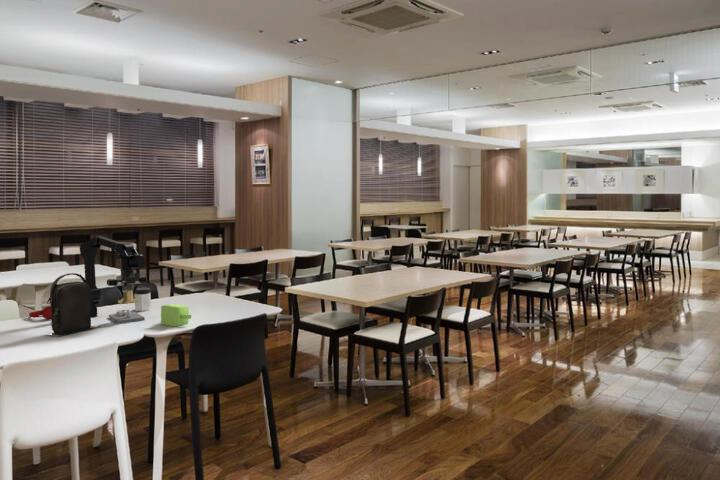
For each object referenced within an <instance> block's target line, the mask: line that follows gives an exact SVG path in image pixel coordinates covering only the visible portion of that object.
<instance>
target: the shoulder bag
mask: <svg viewBox="0 0 720 480" xmlns="http://www.w3.org/2000/svg"><path fill="white" fill-rule="evenodd" d="M72 275H73V276H76V277H78V278H79V279H81V281H71V282H64V283H59V284H58V282H59V281H60V280H61V279H63V278H64V277H66V276H72ZM46 304H47V305H49V306H51V320H50V321H51V330H52V332H51V333H52V336H51V337H54V338H57V337H61V336H67V335H70V334H71V335H72V334H77V333H81V332H85V331H90V330H95V329H100V328H101V327H100V326H94V325H92V319H91V318H92V317H91V313H94V301H93V300H92V298H91V289H90V286H89V285H88V284H87V283H86V280H85V277H83V275H82V274H79V273H76V272H75V273H74V272H73V273H72V272H70V273H65V274H62V275H59V276H58V277H56V279H54V281H53V282H52V283H51V287H50V293H49V297H48V299H47V302H46ZM48 336H49V337H50V335H48Z"/></svg>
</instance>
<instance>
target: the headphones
mask: <svg viewBox="0 0 720 480" xmlns="http://www.w3.org/2000/svg"><path fill="white" fill-rule="evenodd" d="M28 315H29V318H30V319H34V318H44V319H45V320H47V319H51V305H48V306H46V307H44V308H43V309H42V310H35V311H31V312H29V313H28ZM31 317H33V318H31Z"/></svg>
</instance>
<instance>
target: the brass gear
mask: <svg viewBox="0 0 720 480" xmlns="http://www.w3.org/2000/svg"><path fill="white" fill-rule="evenodd" d="M135 302H138V299H135V298H134V297H133V290H132V289H125V290H124V289H123V298H121V299H118V300H117V303H118V304H120V305H130V304H135Z"/></svg>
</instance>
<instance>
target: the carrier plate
mask: <svg viewBox="0 0 720 480" xmlns="http://www.w3.org/2000/svg"><path fill="white" fill-rule="evenodd" d="M108 317H109V319H110V320H111V321H114V322H115V323H116V324H117V325H119V324H127V323H133V322H134V323H135V322H140V321H142V320H143V321H146V319H145V316H143V315H141V314H139V313H138V312H137V311H132V310H131V309H121V310H117V311H116V313H115V314H114V313H113V314H109V315H108Z"/></svg>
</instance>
